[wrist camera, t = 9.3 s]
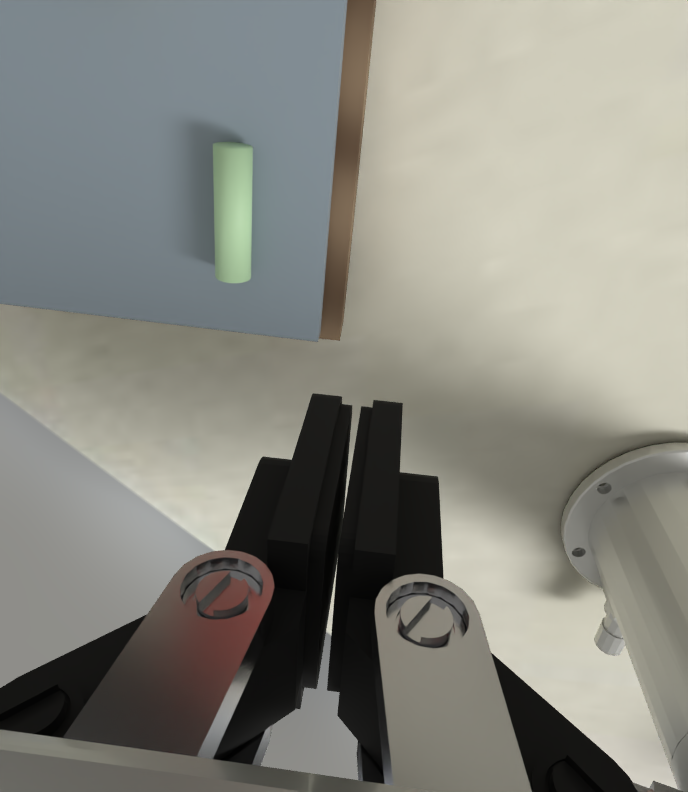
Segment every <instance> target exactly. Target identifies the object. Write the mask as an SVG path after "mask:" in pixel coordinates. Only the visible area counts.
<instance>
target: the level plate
mask: <svg viewBox="0 0 688 792" xmlns="http://www.w3.org/2000/svg"><path fill="white" fill-rule="evenodd" d="M346 11H347V0H0V304H8V305H16V306H24V307H33V308H41V309H49V310H58V311H66V312H74V313H83V314H91V315H99V316H107V317H116V318H124V319H132V320H141V321H149V322H157V323H166V324H174V325H182V326H191V327H199V328H207V329H216V330H224V331H232V332H241V333H249V334H257V335H265V336H274V337H282V338H290V339H299V340H307V341H315V342H318V339H319V335H320V331H321V319H322V307H323V295H324V282H325V270H326V258H327V246H328V233H329V221H330V209H331V196H332V184H333V172H334V159H335V147H336V135H337V122H338V110H339V98H340V85H341V73H342V61H343V48H344V36H345V24H346Z"/></svg>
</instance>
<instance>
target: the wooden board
mask: <svg viewBox="0 0 688 792" xmlns="http://www.w3.org/2000/svg"><path fill="white" fill-rule="evenodd" d="M375 8H376V0H347V11H346V24H345V36H344V48H343V61H342V73H341V85H340V98H339V110H338V122H337V135H336V147H335V159H334V172H333V184H332V196H331V209H330V221H329V233H328V246H327V258H326V270H325V282H324V295H323V307H322V319H321V331H320V335H319V338H322V339H330V340H338V341H340V336H341V331H342V325H343V319H344V309H345V300H346V290H347V280H348V270H349V261H350V251H351V241H352V231H353V222H354V212H355V202H356V193H357V183H358V173H359V163H360V154H361V144H362V134H363V124H364V115H365V105H366V95H367V85H368V76H369V66H370V56H371V46H372V37H373V27H374V17H375Z"/></svg>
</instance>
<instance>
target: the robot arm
mask: <svg viewBox="0 0 688 792" xmlns="http://www.w3.org/2000/svg"><path fill="white" fill-rule="evenodd" d="M402 405H403V403H396V402H387V401H378V400H374V401H373V408H371V407H362V406H361V412H360V418H359V424H358V430H357V436H356V443H355V449H354V455H353V461H352V468H351V474H350V480H349V486H348V493H347V499H346V505H345V511H344V503H345V491H346V478H347V466H348V454H349V442H350V430H351V418H352V405H344V404H342V397H341V396H331V395H322V394H312V397H311V400H310V403H309V407H308V410H307V413H306V416H305V419H304V423H303V426H302V429H301V432H300V436H299V439H298V442H297V445H296V448H295V452H294V455H293V458H292V460H288V459H279V458H270V457H262V458H261V460H260V462H259V464H258V466H257V469H256V471H255V474H254V477H253V479H252V482H251V484H250V487H249V489H248V492H247V495H246V497H245V500H244V502H243V505H242V507H241V510H240V513H239V515H238V518H237V520H236V523H235V525H234V528H233V531H232V533H231V536H230V538H229V541H228V543H227V546H226V549H225V550H222V551H212V552H209V553H206V554H203V555H200V556H197V557H195V558H194V559H192V560H190V561H189V562H187V563H186V564H184V565H183V566H182V567H181V568H180V569H179V570H178V572H177V573H176V574H175V575H174V576H173V578H172V579H171V581H170V582H169V583H168V585H167V587H166V588H165V589H164V591H163V592H162V594H161V595H160V597H159V598H158V599H157V601H156V602H155V604H154V605H153V607H152V608H151V610H150V611H149V613H148V614H147V615H145V616H143V617H141V618H139V619H137V620H135V621H133V622H131V623H129V624H126V625H124V626H122V627H120V628H118V629H116V630H114V631H112V632H110V633H108V634H106V635H104V636H102V637H100V638H98V639H96V640H94V641H92V642H89V643H87V644H86V645H83V646H81V647H79V648H77V649H75V650H73V651H71V652H69V653H67V654H65V655H63V656H61V657H59V658H57V659H55V660H52V661H50V662H48V663H47V664H44V665H42V666H40V667H38V668H36V669H34V670H32V671H30V672H28V673H26V674H24V675H22V676H20V677H18V678H16V679H15V680H13V681H11V682H10V683H8V684H6V685H5V686H3V687H2V688H0V792H688V443H665V444H658V445H651V446H647V447H644V448H640V449H637V450H633V451H630V452H628V453H626V454H623V455H621V456H619V457H617V458H614V459H612V460H610V461H609V462H607V463H606V464H604V465H603V466H601V467H599V468H598V469H596V470H595V471H594V472H593V473H591V474H590V475H589V476H588V477H587V478H586V479H585V480H584V481H582V482H581V484H580V485H579V486H578V487H577V489H576V490H575V491H574V492H573V494H572V495H571V497H570V499H569V501H568V503H567V505H566V507H565V509H564V512H563V517H562V521H561V537H562V541H563V544H564V548H565V551H566V554H567V556H568V558H569V560H570V562H571V564H572V565H573V567H574V568H575V569H576V570H577V571H578V573H579V574H580V575H582V576H583V577H584V578H585V579H587V580H588V581H589V582H590V583H592V584H594V585H596V586H598V587H600V588H602V589H603V591H604V594H605V597H606V602H605V604H604V609H605V612H606V617H605V618H603V620H602V622H601V624H600V626H599V629H598V631H597V633H596V635H595V638H594V640H595V643H596V645H597V647H598V648H599V649H600V650H601V651H603V652H604V653H606V654H608V655H613V656H615V655H620V653H621V652H622V651H623V649H624V647H625V645H626V648H627V650H628V653H629V656H630V659H631V661H632V664H633V667H634V669H635V672H636V675H637V678H638V680H639V683H640V686H641V689H642V691H643V694H644V697H645V699H646V702H647V705H648V708H649V710H650V713H651V716H652V718H653V721H654V724H655V727H656V729H657V732H658V735H659V738H660V740H661V743H662V746H663V748H664V751H665V754H666V757H667V759H668V762H669V765H670V768H671V770H672V773H673V776H674V779H675V781H676V784H677V787H678V789H675V788H672V787H670V786H667V785H664V784H661V783H658V782H656V781H653V782H652V784H651V786H650V788H647V787H644V786H641V785H638V784H636V783H633V782H632V781H631V779H630V778H629V776H628V775H627V774H626V773H625V772H624V771H623V770H622V769H621V768H620V767H619V766H618V764H617V763H616V762H615V761H614V760H613V759H612V758H611V757H609V756H608V755H607V754H606V753H605V752H604V751H603V750H601V749H600V748H599V747H598V746H597V745H596V744H595V743H593V742H592V741H591V740H590V739H589V738H588V737H587V736H585V735H584V734H583V733H582V732H581V731H580V730H579V729H577V728H576V727H575V726H574V725H573V724H572V723H571V722H569V721H568V720H567V719H566V718H565V717H564V716H563V715H562V714H560V713H559V712H558V711H557V710H556V709H555V708H554V707H552V706H551V705H550V704H549V703H548V702H547V701H546V700H544V699H543V698H542V697H541V696H540V695H539V694H538V693H536V692H535V691H534V690H533V689H532V688H531V687H530V686H528V685H527V684H526V683H525V682H524V681H523V680H522V679H520V678H519V677H518V676H517V675H516V674H515V673H514V672H512V671H511V670H510V669H509V668H508V667H507V666H506V665H505V664H503V663H502V662H501V661H500V660H499V659H498V658H497V657H495V656H494V655H493V654H492V653H491V651H490V648H489V644H488V641H487V637H486V634H485V631H484V627H483V624H482V620H481V617H480V614H479V612H478V610H477V607H476V605H475V603H474V601H473V600H472V599H471V598H470V597H469V596H468V595H467V594H466V592H465V591H464V590H463V589H461V588H460V587H458V586H456V585H455V584H453V583H452V582H450V581H448V580H445V579H443V560H442V539H441V519H440V498H439V481H438V477H436V476H428V475H419V474H410V473H401V472H400V451H401V429H402ZM343 515H344V518H343ZM337 559H338V562H337ZM336 565H337V574H336V586H335V599H334V611H333V624H332V636H331V650H330V661H329V673H328V686H327V690H328V691H336V692H340V695H339V706H338V717H339V718H340V719H341V720H342V721H343V723H344V724H345V725H346V726H347V727H348V729H349V730H350V731H351V732H352V734H353V735H354V736H355V737H356V738H357V740H358V745H357V767H358V780H353V779H346V778H339V777H332V776H325V775H318V774H311V773H304V772H298V771H291V770H284V769H277V768H270V767H263V766H261V763H262V761H263V758H264V755H265V752H266V750H267V747H268V745H269V742H270V738H271V733H272V726H273V724H274V723H276V722H277V721H279V720H280V719H282V718H283V717H285V716H286V715H288V714H289V713H291V712H292V711H294V710H295V708H297V709H300V707H301V702H302V696H303V691H304V687H306V688H314V689H316V688H317V684H318V678H319V671H320V665H321V659H322V652H323V646H324V640H325V634H326V628H327V621H328V615H329V609H330V602H331V596H332V590H333V584H334V577H335V571H336Z"/></svg>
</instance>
